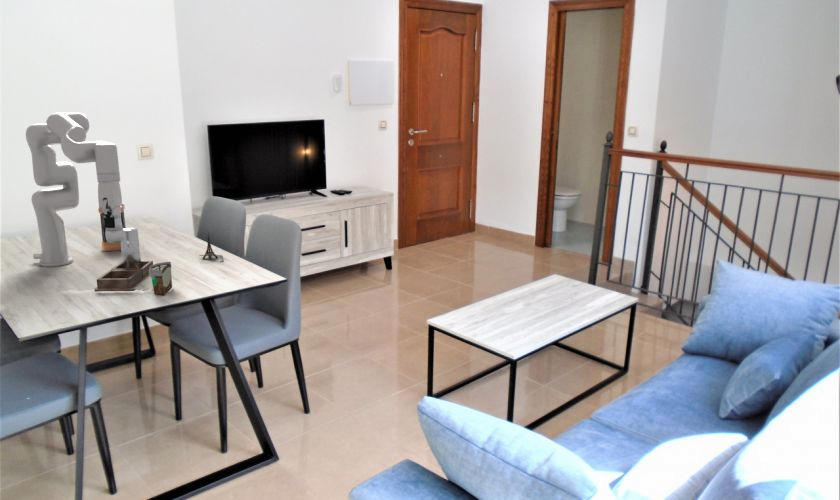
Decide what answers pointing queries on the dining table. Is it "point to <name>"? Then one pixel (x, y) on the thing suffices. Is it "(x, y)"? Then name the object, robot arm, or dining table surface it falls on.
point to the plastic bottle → (116, 226)
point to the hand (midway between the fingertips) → (113, 225)
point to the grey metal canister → (131, 249)
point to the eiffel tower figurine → (211, 253)
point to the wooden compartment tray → (123, 278)
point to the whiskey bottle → (105, 244)
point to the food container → (161, 278)
